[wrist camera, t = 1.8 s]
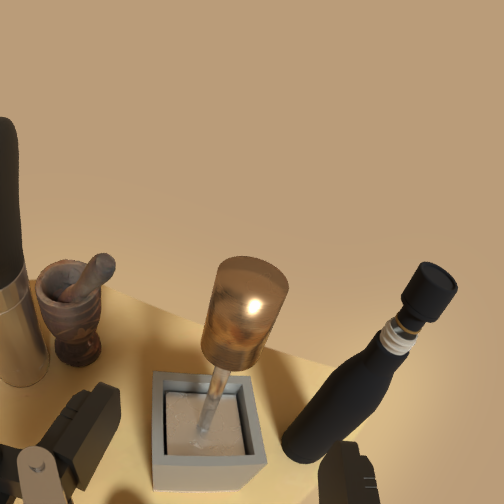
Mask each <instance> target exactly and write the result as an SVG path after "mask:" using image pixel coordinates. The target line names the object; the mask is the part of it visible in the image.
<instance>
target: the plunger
mask: <svg viewBox="0 0 504 504" xmlns="http://www.w3.org/2000/svg"><path fill="white" fill-rule="evenodd" d="M288 289H289V286H288V281H287V279H286V277H285V276H284V275H283V273H282V272H281V271H280V270H279V269H277V268H276V267H275V266H273V265H272V264H270V263H268V262H266V261H264V260H260V259H258V258H253V257H247V256H236V257H232V258H228V259H226V260H225V261H223V262H222V263H221V264H220V265H219V267H218V271H217V275H216V279H215V283H214V287H213V291H212V296H211V300H210V304H209V308H208V313H207V317H206V321H205V325H204V329H203V334H202V338H201V350H202V352H203V354H204V356H205V357H206V359H207V360H208V361H209V362H210V363H212V364H213V365H214V366H215V368H214V372H213V375H212V378H211V382H210V385H209V388H208V391H207V394H195V393H178V392H166V437H167V455H176V456H240V455H245V450H244V444H243V438H242V432H241V426H240V419H239V413H238V407H237V400H236V395H223V391H224V389H225V386H226V383H227V381H228V378H229V376H230V373H231V371H234V372H235V371H243V370H247V369H249V368H251V367H252V366H253V365H255V363H256V362H257V361H258V359H259V356H260V354H261V352H262V350H263V348H264V345H265V343H266V341H267V339H268V336H269V334H270V332H271V330H272V328H273V325H274V323H275V321H276V318H277V316H278V314H279V312H280V309H281V307H282V305H283V302H284V300H285V298H286V295H287V293H288Z"/></svg>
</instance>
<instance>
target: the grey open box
mask: <svg viewBox="0 0 504 504" xmlns="http://www.w3.org/2000/svg"><path fill="white" fill-rule="evenodd" d="M211 378H212V375H202V374H186V373H172V372H160V371H153V387H152V471H153V491H160V492H190V493H202V492H233V491H239V490H240V489H241V488H242V487H243V486H244V485H245V484H247V483H248V482H249V481H250V480H251V479H252V478H253V477H254V476H255V475H256V474H257V473H258V472H259V471H260V470H261V469H262V468H263V467H264V466H265V465H266V464H267V459H266V454H265V449H264V444H263V439H262V434H261V429H260V424H259V419H258V414H257V408H256V403H255V398H254V393H253V388H252V382H251V377H250V376H229V378H228V381H227V383H226V386H225V389H224V391H223V395H236V400H237V407H238V413H239V419H240V426H241V432H242V438H243V444H244V450H245V455H240V456H176V455H167V437H166V392H178V393H195V394H207V391H208V388H209V385H210V382H211Z"/></svg>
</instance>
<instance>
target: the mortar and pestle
mask: <svg viewBox="0 0 504 504" xmlns="http://www.w3.org/2000/svg"><path fill="white" fill-rule="evenodd" d="M114 271H115V260H114V258H113V257H111V256H110V255H109V254H107V253H101V254H97V255H95V256H94V257H93V258H92V259H91V260H90V261H89V263H88V264H86V263H83V262H80V261H75V260H60V261H58V262H55V263H53V264H50V265H49V266H47V267H46V268H45V269H44V270H43V271H41V274H40V275H39V276H38V278H37V281H36V285H35V290H36V296H37V300H38V303H39V306H40V309H41V314H42V317H43V319H44V322H45V324H46V325H47V327H48V329H49V330H50V331H51V333H52V334H53V335H54V336H55V337H56V339H55V352H56V355H57V356H58V358H59V359H60V360H61V361H62V362H64V363H66V364H68V365H71V366H75V367H81V366H85V365H88V364H90V363H92V362H94V361H95V360H96V359H97V358H98V356H99V355H100V353H101V343H100V339H99V337H98V335H97V333H96V332H95V331H96V329H97V326H98V323H99V319H100V314H101V299H100V298H101V285H103V284H104V283H105V282H107V281H108V280H109V279H110V278H111V277H112V275H113V273H114Z"/></svg>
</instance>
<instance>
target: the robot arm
mask: <svg viewBox="0 0 504 504" xmlns="http://www.w3.org/2000/svg"><path fill="white" fill-rule="evenodd" d="M18 176H19V151H18V138H17V133H16V130H15V126H14V125H13V123H12V121H11V120H10V119H8V118H5V117H0V377H1V379H2V380H4V381H5V382H6V383H8V384H10V385H12V386H16V387H26V386H30V385H33V384H35V383H36V382H38V381H39V380H40V379H41V378H42V377H43V376H44V375H45V373H46V372H47V370H48V367H49V361H50V360H49V353H48V350H47V346H46V344H45V341H44V337H43V334H42V330H41V327H40V324H39V320H38V316H37V313H36V309H35V305H34V301H33V297H32V293H31V289H30V284H29V280H28V276H27V270H26V266H25V260H24V255H23V249H22V234H21V219H20V209H19V183H18V182H19V180H18V178H19V177H18ZM120 419H121V406H120V390H119V389H118V388H115V387H113V386H110V385H107V384H105V383H102V382H99V383H98V384H97V385H96V386H95V388H94V389H93V391H92V392H89V391H86V390H82V391H81V392H79V393H77V394H75V395H74V396H73V397H72V398H71V399H70V401H69V402H68V403H67V405H66V407H64V409H63V410H62V411H61V413H60V415H59V416H58V417H57V418H56V420H55V421H54V423H53V424H52V425H51V427H50V428H49V430H48V431H47V432H46V434H45V435H44V437H43V438H42V439H41V441H40V442H39V443H38V444H37V445H36V446H30V447H27V448H25V449H17V448H13V447H9V446H6V445H3V444H0V504H13V503H14V501H15V499H16V497H18V498H21V499H23V502H24V504H74V502H73V499H72V494H73V492H74V490H75V488H78V489H80V490H82V491H84V492H85V490H86V488H87V486H88V484H89V482H90V480H91V478H92V476H93V474H94V472H95V470H96V468H97V466H98V464H99V462H100V460H101V459H102V457H103V455H104V453H105V451H106V449H107V447H108V445H109V443H110V441H111V440H112V438H113V436H114V434H115V432H116V430H117V428H118V426H119V423H120ZM318 488H319V504H380V499H379V494H378V489H377V483H376V480H375V473H374V468H373V465H372V464H371V462H370V461H369V459H368V458H367V456H362V455H361V456H360V453H359V448H358V444H357V443H356V442H351V441H339V440H337V441H335V442H334V444H333V445H332V447H331V448H330V450H329V451H328V453H327V454H326V455H325V457H324V458H323V460H322V461H321V463H320V466H319V469H318Z"/></svg>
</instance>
